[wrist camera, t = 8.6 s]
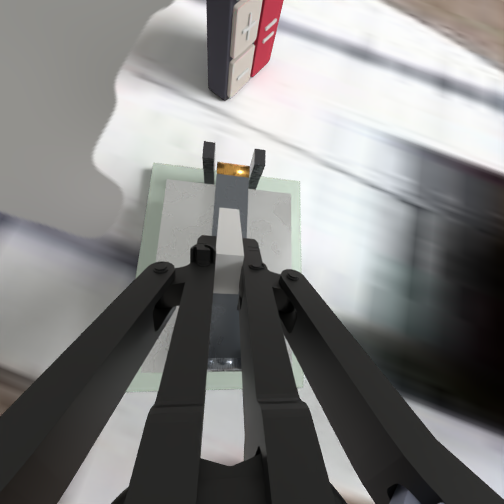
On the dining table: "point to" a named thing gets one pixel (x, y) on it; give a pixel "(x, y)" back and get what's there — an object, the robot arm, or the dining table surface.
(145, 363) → the knife switch
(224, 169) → the lever
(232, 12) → the calculator
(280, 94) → the dining table surface
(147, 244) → the board
